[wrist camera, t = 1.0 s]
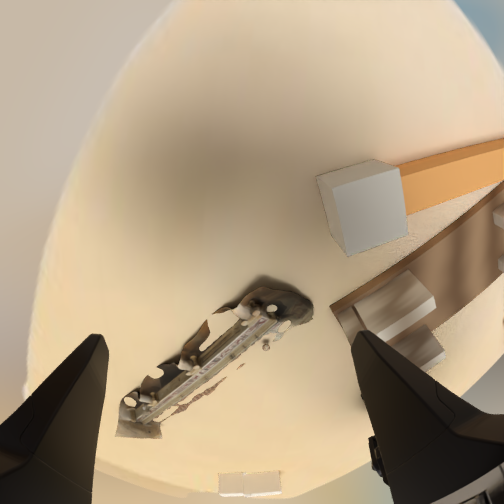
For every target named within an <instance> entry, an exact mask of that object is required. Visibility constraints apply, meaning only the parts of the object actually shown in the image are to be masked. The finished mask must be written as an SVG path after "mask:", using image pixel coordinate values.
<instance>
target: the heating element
mask: <svg viewBox="0 0 504 504" xmlns="http://www.w3.org/2000/svg"><path fill="white" fill-rule="evenodd" d="M271 304H273V305H276V306H277V310H276V311H275V312H266V308H267V306H269V305H271ZM230 309H231V310H232V312H233V313H234V314H235V315H236V316H237V317H238V318H240V319H239V320H238V322H237V323H235V324H234V326H233V327H231V328H230V329H229V330H227V331H226V333H224V334H223V335H221V336H220V337H219V338H218V339H217V340H216V341H214V342H213V344H211V345H210V346H208V347H207V349H206V350H204V351H200V350H199V347H200V345H201V344H202V343H203V342H204V341H205V340H206V339H207V338H208V336H209V334H210V330H209V327H208V323H207V320H206V321H205V322H204V324H203V325H202V327H201V329H200V330H199V332H198V333H197V335H196V336H195V337H194V338H193V339H192V340H190V341H189V342H188V343H187V344H186V345H185V346H184V348H183V350H182V353H181V358H180V362H179V364H175V363H171V364H169V365H168V364H162V365H159V366H157V368H160V369H162V370H163V371H164V375H163V376H162V377H160V378H157V379H153V378H151V377H150V376H148V375H147V377H146V378H145V379H144V381H143V383H142V385H141V388H140V394H138V393H137V392H132V393H130V394H128V395H126V396H125V397H131V398H133V399H134V400H135V401H136V403H137V404H136V406H135V407H130V406H128V405H126V404H125V402H124V398H125V397H124V398H123V399H122V401H121V403H120V408H119V419H118V426H117V430H116V434H115V437H129V438H153V439H162V434H161V430H160V423H161V422H162V421H164V420H165V419H164V420H162V421H161V422H154V421H153V419H154V418H158V416H159V415H161V414H162V413H163V411H165V410H166V409H170V407H171V406H179V408H178V409H177V410H176V411H175V412H174V413H172V414H171V415H170V416H172V415H174V414H176V413H180V412H182V411H184V410H186V409H187V407H188V406H189V405H190V404H191V403H192V402H195V401H196V400H198V399H200V398H201V397H202V396H203V395H209V394H210V393H212V392H213V391H214V390H215V388H216V387H217V386H218V384H219V383H221V382H222V381H223V380H224V379H225V378H226V377H225V378H223V379H222V380H221V381H219V382H218V383H216V384H215V385H214V386H213V387H211V388H209V389H206V390H205V391H204V392H203V393H201V394H198V395H196V396H194V398H193V399H192V401H190V402H189V403H187V404H183V405H179V404H177V403H178V402H180V401H182V400H184V399H185V398H186V397H187V396H188V395H189V394H191V393H192V392H193V391H194V390H195V389H197V388H199V387H200V386H201V385H202V384H204V383H206V382H208V381H209V380H210V379H211V378H213V377H214V376H215V375H217V374H218V373H219V372H220V371H221V370H222V369H223V368H225V367H226V366H227V365H228V364H229V363H230V362H232V361H234V360H235V359H237V358H238V357H239V356H240V355H241V353H243V352H245V351H246V350H247V349H248V348H249V347H250V346H251V345H253V344H254V343H255V342H256V341H258V340H260V339H261V338H262V336H263V335H266V334H269V333H277V335H276V337H275V339H274V341H277V340H279V339H280V338H281V337H282V336H283V335H284V333H285V332H286V331H287V330H289V329H290V328H292V327H294V326H297V325H301V324H304V323H307V322H309V321H310V320H312V319H313V318H312V316H313V304H312V303H311V302H310V301H309V300H307V299H304V298H303V297H301V296H300V295H298V294H296V293H293V292H291V291H280V290H274V289H270V288H267V287H260V288H258V289H256V290H254V291H252V292H250V293H249V294H248V295H246V296H245V297H244V298H243V300H242V301H241V302H240V304H239V305H238V307H237V308H235V309H234V308H228V307H224V308H221V309H219V310H217V311H216V312H214V313H213V314H215V313H224V312H225V311H227V310H230ZM287 320H290V321H291V325H290V326H289V327H288V329H287V330H286V331H284V332H282V333H279V332H278V329H279V327H280V326H281V324H283V323H284V322H285V321H287ZM269 349H270V347H269V345H268V344H265V345H264V346H263V350H264V351H267V350H269ZM244 364H245V363H243V364H242V365H240V366H239V367H238V368H240V367H242V366H243V365H244ZM170 416H169V417H170ZM167 418H168V417H167ZM167 418H166V419H167Z"/></svg>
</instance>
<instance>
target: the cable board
mask: <svg viewBox="0 0 504 504" xmlns="http://www.w3.org/2000/svg"><path fill="white" fill-rule="evenodd" d="M502 273H504V181H503V182H502V183H501V184H500V185H498V186H497V187H496V188H495V189H494V190H493V191H492V192H490V193H489V194H488V195H487V196H486V197H485V198H483V199H482V200H481V201H480V202H479V203H477V204H476V205H475V206H474V207H472V208H471V209H470V210H469V211H467V212H466V213H465V214H464V215H462V216H461V217H460V218H459V219H457V220H456V221H455V222H454V223H452V224H451V225H450V226H448V227H447V228H446V229H444V230H443V231H442V232H440V233H439V234H438V235H436V236H435V237H434V238H432V239H431V240H430V241H428V242H427V243H425V244H424V245H423V246H421V247H420V248H419V249H417V250H416V251H414V252H413V253H411V254H410V255H409V256H407V257H406V258H404V259H403V260H401V261H400V262H398V263H397V264H395V265H394V266H393V267H391V268H390V269H388V270H387V271H385V272H384V273H382V274H380V275H379V276H377V277H376V278H374V279H373V280H371V281H370V282H368V283H367V284H365V285H363V286H362V287H360V288H359V289H357V290H355V291H354V292H352V293H351V294H349V295H347V296H346V297H344V298H342V299H341V300H339V301H337V302H336V303H334V304H332V305H331V306H330V308H331V310H332V312H333V314H334V315H335V317H336V319H337V320H338V322H339V323H340V325H341V326H342V328H343V330H344V332H345V334H346V336H347V338H348V341H349V343H350V345H351V346H352V343H353V341H354V339H355V336H356V334H357V332H358V331H360V330H370V331H371V332H373V333H374V334H375V335H377V336H378V337H379V338H381V339H382V340H383V341H385V342H386V343H387V344H389V345H390V346H391V347H392V348H394V349H395V350H396V351H398V352H399V353H400V354H402V355H403V356H404V357H406V358H407V359H408V360H410V361H411V362H412V363H414V364H415V365H416V366H418V367H419V368H420V369H421V370H423V371H424V372H426V371H427V370H429V369H430V368H432V367H433V366H435V365H436V364H438V363H439V362H441V361H442V360H443V359H445V358H446V355H445V350H444V349H443V347H442V346H441V345H440V343H439V342H438V340H437V339H436V338H435V336H434V335H433V334H432V332H431V331H433V330H434V329H436V328H437V327H438V326H440V325H441V324H443V323H444V322H445V321H447V320H448V319H449V318H451V317H452V316H453V315H454V314H456V313H457V312H458V311H460V310H461V309H462V308H463V307H465V306H466V305H467V304H468V303H469V302H471V301H472V300H473V299H474V298H475V297H477V296H478V295H479V294H480V293H481V292H482V291H484V290H485V289H486V288H487V287H488V286H489V285H490V284H491V283H493V282H494V281H495V280H496V279H497V278H498V277H499V276H500V275H501V274H502Z"/></svg>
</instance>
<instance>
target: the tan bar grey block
mask: <svg viewBox="0 0 504 504" xmlns="http://www.w3.org/2000/svg"><path fill="white" fill-rule="evenodd" d="M316 179H317V183H318V187H319V190H320V194H321V198H322V201H323V205H324V209H325V213H326V217H327V221H328V225H329V229H330V233H331V236H332V237H333V238H334V240H335V241H336V242H337V244H338V245H339V246H340V248H341V249H342V250H343V251H344V253H345V254H346V255H347V257H349V256H352V255H354V254H357V253H360V252H363V251H366V250H368V249H371V248H374V247H377V246H379V245H382V244H385V243H387V242H390V241H393V240H396V239H398V238H401V237H404V236H406V235H408V227H407V217H406V215H409V214H412V213H415V212H418V211H420V210H423V209H426V208H429V207H432V206H434V205H437V204H440V203H443V202H445V201H448V200H451V199H454V198H456V197H459V196H462V195H465V194H467V193H470V192H473V191H475V190H478V189H481V188H483V187H486V186H489V185H491V184H494V183H497V182H499V181H502V180H504V138H502V139H498V140H494V141H489V142H485V143H481V144H477V145H473V146H468V147H464V148H460V149H456V150H452V151H449V152H445V153H441V154H437V155H433V156H430V157H426V158H422V159H418V160H415V161H411V162H408V163H404V164H400V165H397V166H392V165H389V164H386V163H384V162H381V161H378V160H375V159H373V160H370V161H366V162H363V163H359V164H356V165H352V166H349V167H345V168H342V169H339V170H335V171H332V172H329V173H325V174H322V175H319V176H316Z"/></svg>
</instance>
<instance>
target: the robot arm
mask: <svg viewBox="0 0 504 504" xmlns="http://www.w3.org/2000/svg"><path fill="white" fill-rule="evenodd" d="M351 353H352V357H353V361H354V366H355V370H356V374H357V379H358V383H359V387H360V390H361V393H362V394H361V397H362V399H363V400H364V402H365V405H366V408H367V411H368V414H369V418H370V421H371V424H372V427H373V430H374V434H375V435H374V436H371V437H369V438H368V439H369V448H370V454H371V459H372V469H373V470H375V471H377V473H378V474H379V475H380V477H383V481H384V483H386V484H387V485H388V486H390V490H391V494H392V498H393V501H394V504H504V414H499V415H498V414H497V415H496V414H495V415H494V414H487V413H485V412H482V411H480V410H479V409H477V408H475V407H474V406H473V405H471V404H469V403H468V402H466V401H464V400H463V399H461V398H460V397H458V396H457V395H455V394H454V393H452V392H451V391H449V390H448V389H447V388H445V387H444V386H443V385H441V384H440V383H439V382H437V381H435V379H433V378H432V377H431V376H429V375H428V374H427V373H425V372H424V371H423V370H421V369H420V368H419V367H418V366H416V365H415V364H414V363H412V362H411V361H410V360H408V359H407V358H406V357H404V356H403V355H402V354H400V353H399V352H398V351H396V350H395V349H394V348H392V347H391V346H390V345H389V344H387V343H386V342H385V341H383V340H382V339H381V338H379V337H378V336H377V335H375V334H374V333H373V332H371V331H370V330H360V331H358V332H357V334H356V336H355V339H354V341H353V343H352V346H351ZM108 361H109V350H108V347H107V345H106V342H105V339H104V337H103V335H101V334H90V335H89V336H88V337H87V338H86V339H85V340H84V341H83V342H82V343H81V344H80V345H79V346H78V347H77V348H76V349H75V350H74V351H73V352H72V353H71V354H70V355H69V356H68V357H67V358H66V359H65V360H64V361H63V362H62V363H61V364H60V365H59V366H58V367H57V368H56V369H55V370H54V371H53V372H52V373H51V374H50V375H49V376H48V377H47V378H46V379H45V380H44V381H43V383H42V384H41V385H40V386H39V387H38V388H37V389H36V390H35V391H34V392H33V393H32V394H31V396H29V397H28V398H27V399H26V401H25V402H24V403H23V404H22V405H21V406H20V407H19V408H18V409H17V410H16V411H15V412H14V413H13V414H12V415H11V416H9V418H7V419H6V420H5V421H4V422H3V423H2V424H1V425H0V504H91V503H92V486H93V474H94V464H95V456H96V448H97V440H98V433H99V427H100V421H101V415H102V409H103V404H104V398H105V392H106V381H107V370H108Z"/></svg>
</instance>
